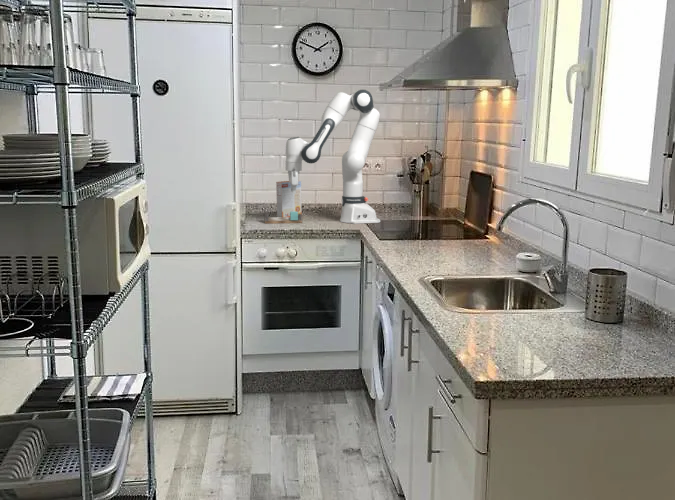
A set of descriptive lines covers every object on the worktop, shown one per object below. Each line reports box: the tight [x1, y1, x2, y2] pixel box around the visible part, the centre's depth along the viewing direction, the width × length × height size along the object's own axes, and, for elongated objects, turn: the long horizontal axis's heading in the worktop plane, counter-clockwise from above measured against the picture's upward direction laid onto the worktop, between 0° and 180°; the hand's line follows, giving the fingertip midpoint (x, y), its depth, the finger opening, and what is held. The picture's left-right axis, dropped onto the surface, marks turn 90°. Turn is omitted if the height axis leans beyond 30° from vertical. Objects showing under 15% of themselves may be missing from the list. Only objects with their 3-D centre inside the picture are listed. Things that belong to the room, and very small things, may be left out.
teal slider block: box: [290, 211, 298, 220], centre depth 386 cm, size 4×5×4 cm
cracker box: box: [275, 180, 303, 217], centre depth 403 cm, size 14×6×21 cm, turn 130°
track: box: [264, 211, 303, 225], centre depth 386 cm, size 20×10×6 cm, turn 97°
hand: (293, 192), depth 384 cm, fingers open, 8 cm apart
